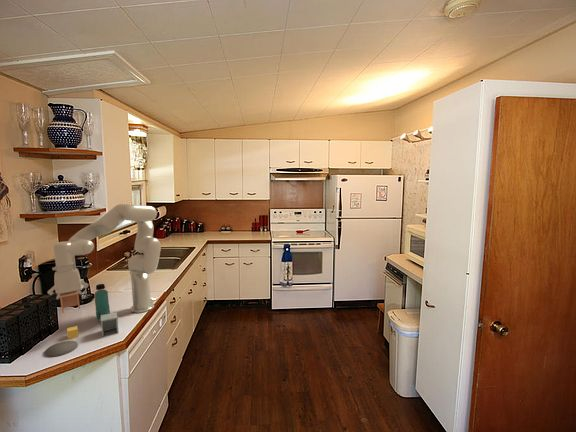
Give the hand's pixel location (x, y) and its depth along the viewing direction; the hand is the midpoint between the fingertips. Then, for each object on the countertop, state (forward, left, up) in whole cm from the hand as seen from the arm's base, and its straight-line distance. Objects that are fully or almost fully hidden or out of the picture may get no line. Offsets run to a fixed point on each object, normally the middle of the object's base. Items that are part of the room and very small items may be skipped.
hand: (70, 303), depth 151 cm
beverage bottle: (-17, -3, -16) cm, 24 cm away
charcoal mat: (+9, +8, -16) cm, 20 cm away
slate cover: (-11, +12, -16) cm, 23 cm away
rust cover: (0, 0, -2) cm, 2 cm away
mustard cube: (0, 0, -16) cm, 16 cm away
